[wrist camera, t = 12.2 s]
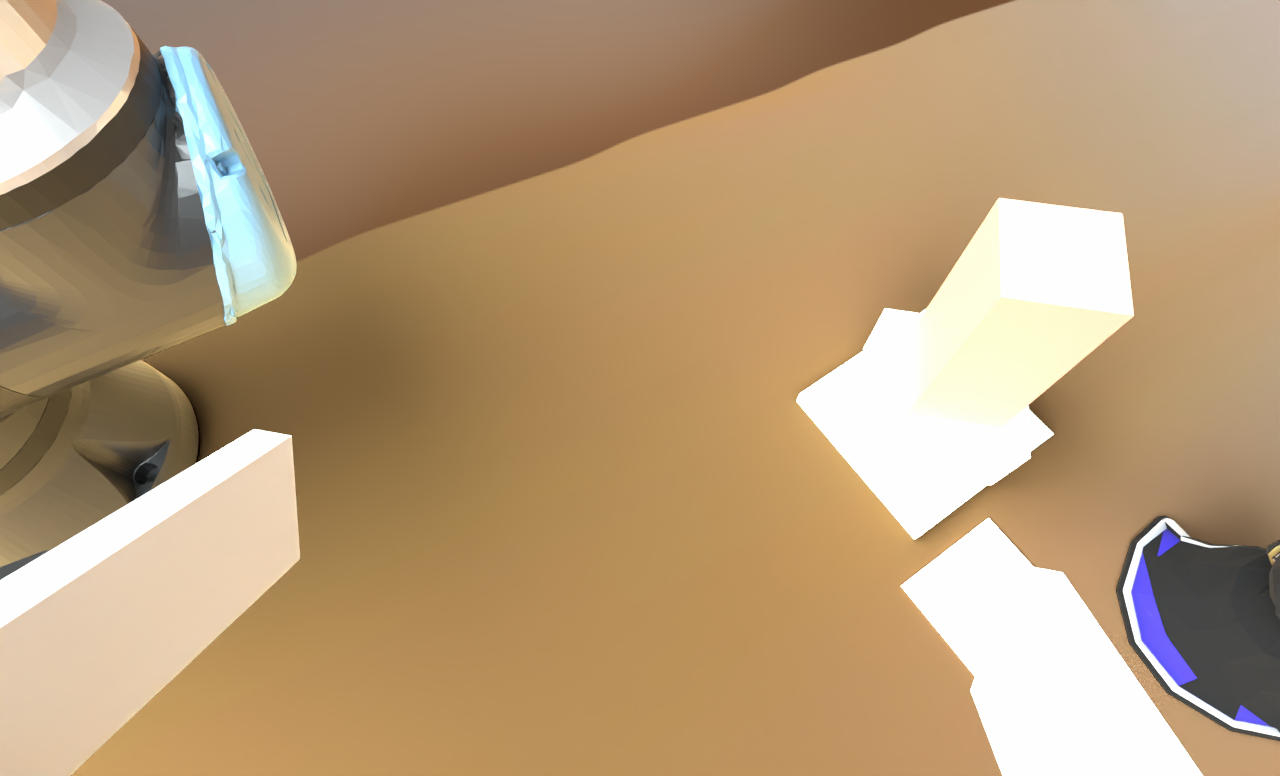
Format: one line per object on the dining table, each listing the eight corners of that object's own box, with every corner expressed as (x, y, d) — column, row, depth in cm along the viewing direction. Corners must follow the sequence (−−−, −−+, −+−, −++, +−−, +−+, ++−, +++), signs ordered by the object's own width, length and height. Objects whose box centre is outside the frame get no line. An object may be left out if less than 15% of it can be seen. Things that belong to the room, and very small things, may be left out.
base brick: (855, 462, 43) (877, 433, 39) (863, 347, 46) (884, 308, 42) (991, 485, 42) (1030, 457, 38) (989, 366, 46) (1026, 328, 41)
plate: (795, 401, 46) (799, 393, 45) (921, 316, 49) (927, 307, 48) (914, 540, 42) (921, 535, 41) (1044, 440, 45) (1054, 434, 44)
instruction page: (900, 585, 41) (901, 585, 41) (987, 518, 43) (988, 517, 43) (1017, 728, 38) (1018, 728, 38) (1107, 649, 40) (1109, 649, 39)
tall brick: (906, 413, 39) (1000, 297, 28) (909, 334, 41) (998, 197, 30) (1000, 428, 39) (1134, 315, 28) (999, 348, 41) (1122, 213, 30)
